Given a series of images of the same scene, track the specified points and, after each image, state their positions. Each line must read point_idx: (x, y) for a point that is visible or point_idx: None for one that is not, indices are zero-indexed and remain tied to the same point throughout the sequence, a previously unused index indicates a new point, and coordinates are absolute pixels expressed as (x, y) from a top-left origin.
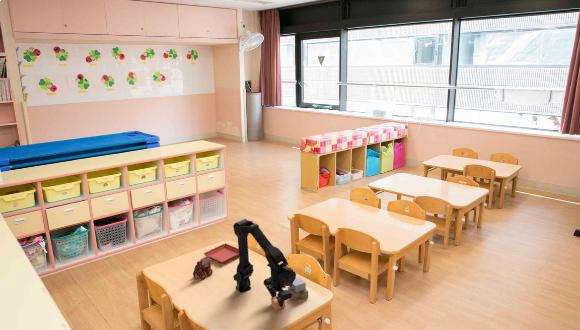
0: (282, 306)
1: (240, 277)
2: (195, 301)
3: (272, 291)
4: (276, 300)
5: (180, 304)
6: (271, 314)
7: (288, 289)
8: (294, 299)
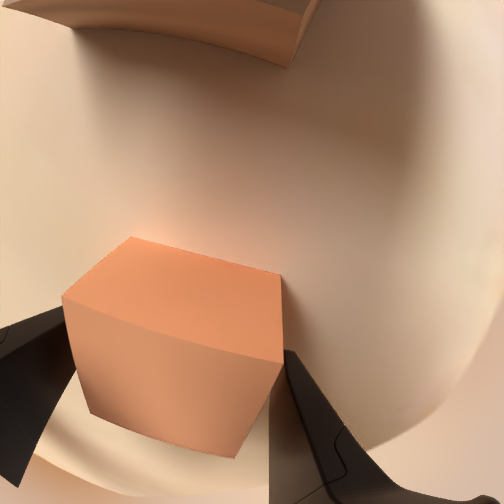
0: (294, 353)
1: None
2: None
3: (16, 430)
4: (190, 433)
5: None
6: (268, 427)
7: (39, 10)
8: (296, 51)
